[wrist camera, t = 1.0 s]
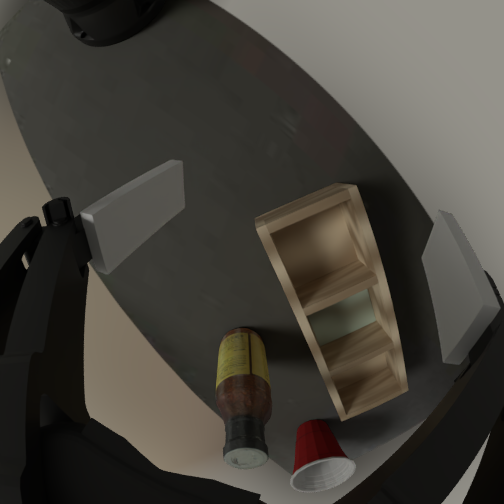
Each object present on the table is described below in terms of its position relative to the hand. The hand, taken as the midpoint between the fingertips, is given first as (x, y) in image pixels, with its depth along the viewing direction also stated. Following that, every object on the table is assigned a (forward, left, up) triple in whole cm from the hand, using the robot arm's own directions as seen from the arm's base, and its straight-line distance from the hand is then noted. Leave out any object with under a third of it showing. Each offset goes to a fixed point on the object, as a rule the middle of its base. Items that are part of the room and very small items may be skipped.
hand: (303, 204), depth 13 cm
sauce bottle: (+20, -9, -21) cm, 31 cm away
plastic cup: (+43, -2, -21) cm, 48 cm away
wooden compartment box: (+18, +5, -21) cm, 28 cm away
